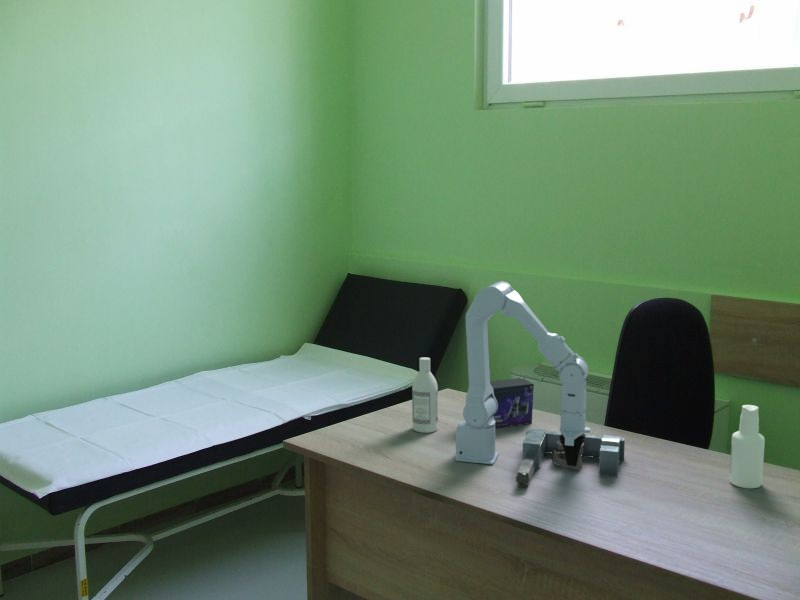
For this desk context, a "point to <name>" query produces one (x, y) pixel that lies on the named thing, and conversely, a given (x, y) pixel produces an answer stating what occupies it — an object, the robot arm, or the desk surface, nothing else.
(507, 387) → the box
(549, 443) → the vise bed
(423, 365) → the bath foam
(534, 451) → the sliding jaw
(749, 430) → the spray bottle
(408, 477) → the desk surface
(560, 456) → the dental mold
